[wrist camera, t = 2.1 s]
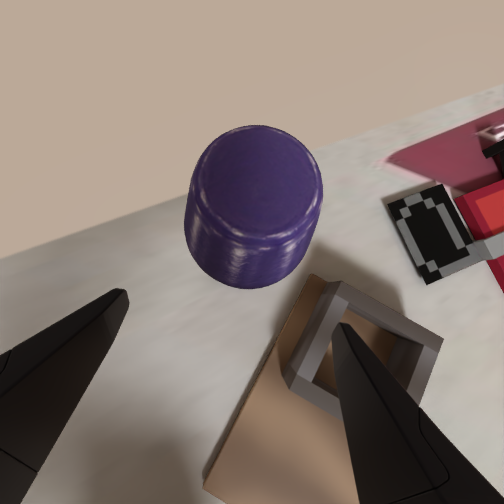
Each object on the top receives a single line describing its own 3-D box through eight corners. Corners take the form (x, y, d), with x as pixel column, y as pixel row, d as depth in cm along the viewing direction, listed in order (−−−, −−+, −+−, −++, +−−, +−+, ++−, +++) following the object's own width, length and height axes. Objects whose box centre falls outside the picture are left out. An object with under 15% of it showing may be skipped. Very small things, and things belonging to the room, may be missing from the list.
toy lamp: (269, 244, 22) (363, 97, 5) (265, 293, 21) (359, 299, 4) (219, 238, 22) (158, 67, 5) (212, 287, 21) (113, 271, 4)
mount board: (336, 564, 18) (361, 632, 14) (203, 482, 18) (194, 528, 15) (424, 338, 21) (462, 348, 17) (310, 274, 21) (324, 270, 18)
